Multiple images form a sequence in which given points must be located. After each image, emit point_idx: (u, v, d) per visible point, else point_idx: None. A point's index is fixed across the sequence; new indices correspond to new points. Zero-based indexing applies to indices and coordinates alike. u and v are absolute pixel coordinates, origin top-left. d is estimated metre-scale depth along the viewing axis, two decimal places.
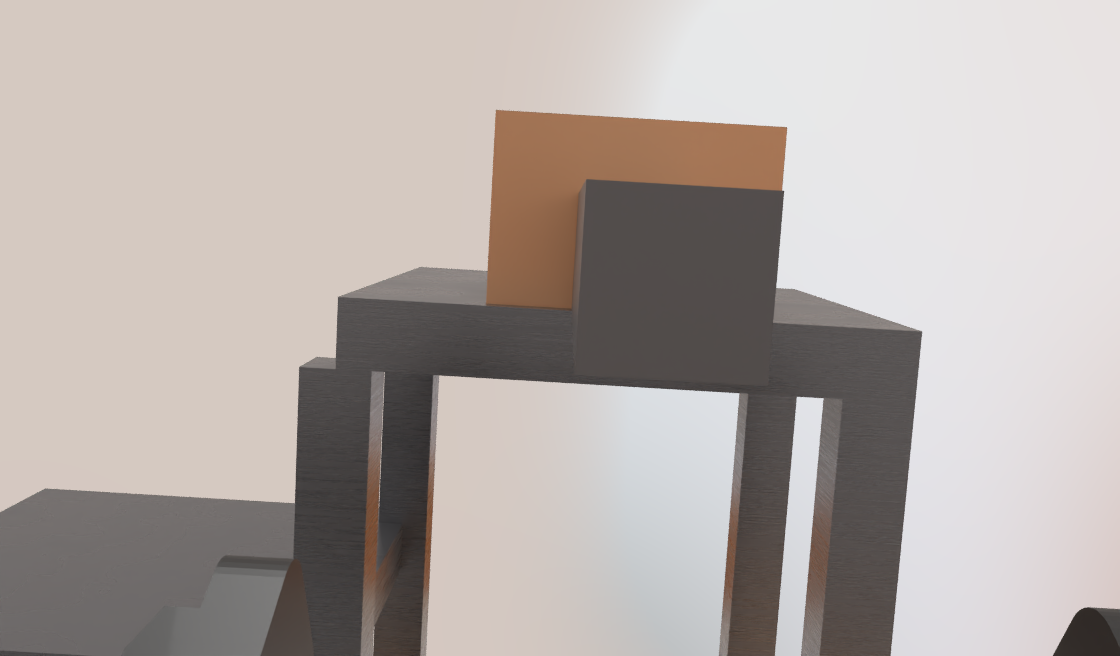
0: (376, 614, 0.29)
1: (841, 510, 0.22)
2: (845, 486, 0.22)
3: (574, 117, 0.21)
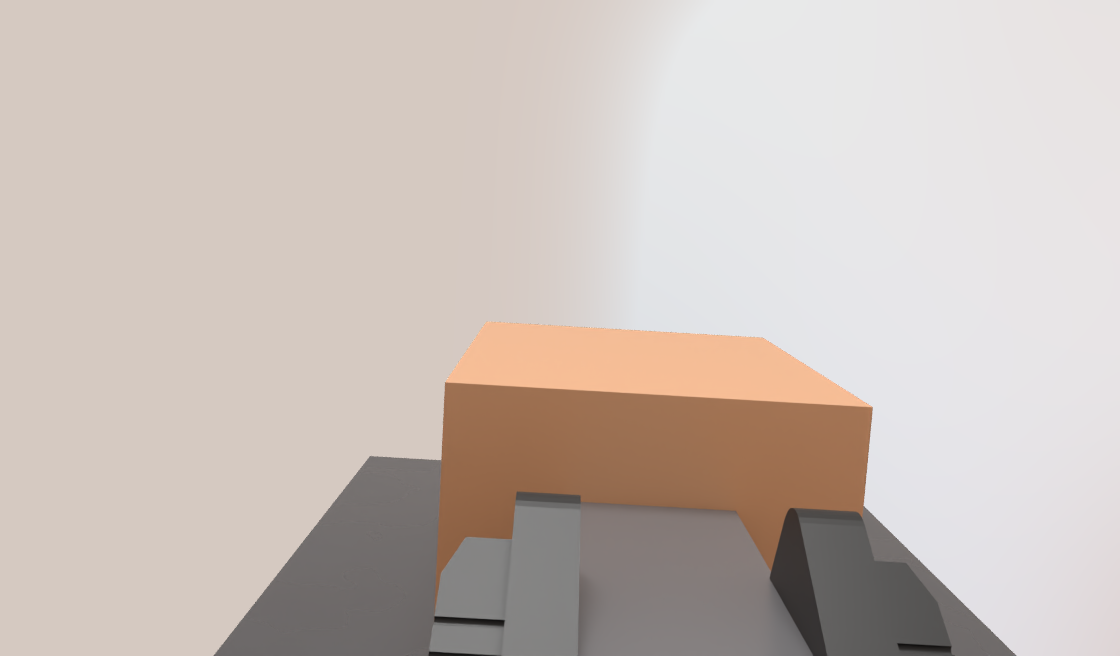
0: None
1: None
2: None
3: (560, 392, 0.15)
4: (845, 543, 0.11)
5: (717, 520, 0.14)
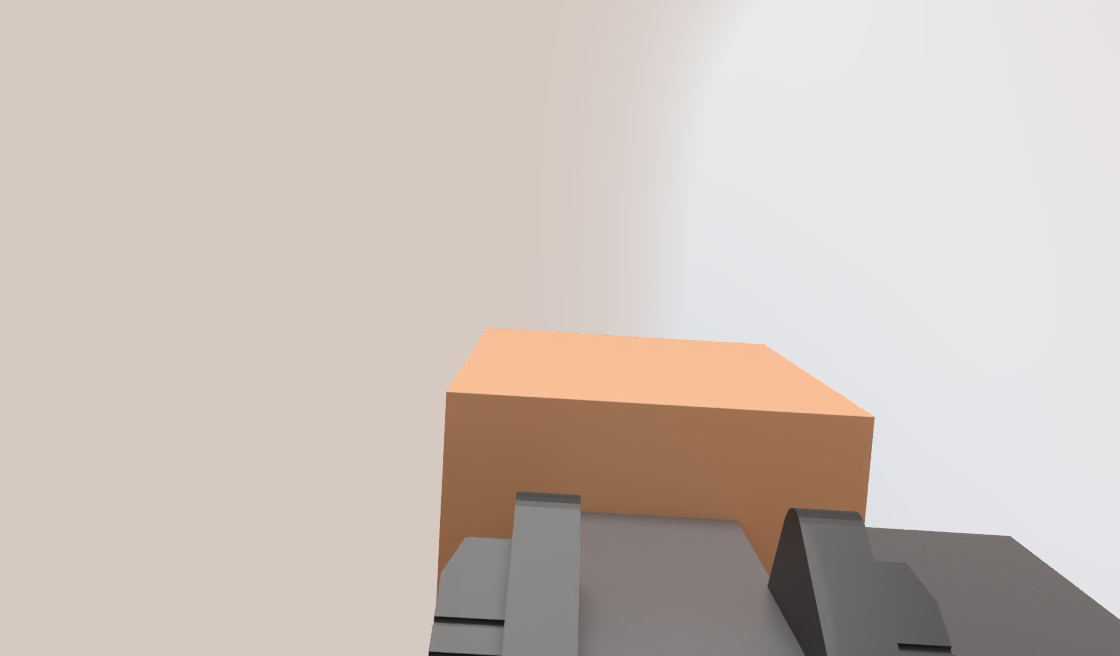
0: None
1: None
2: None
3: (562, 401, 0.15)
4: (845, 543, 0.11)
5: (718, 530, 0.14)
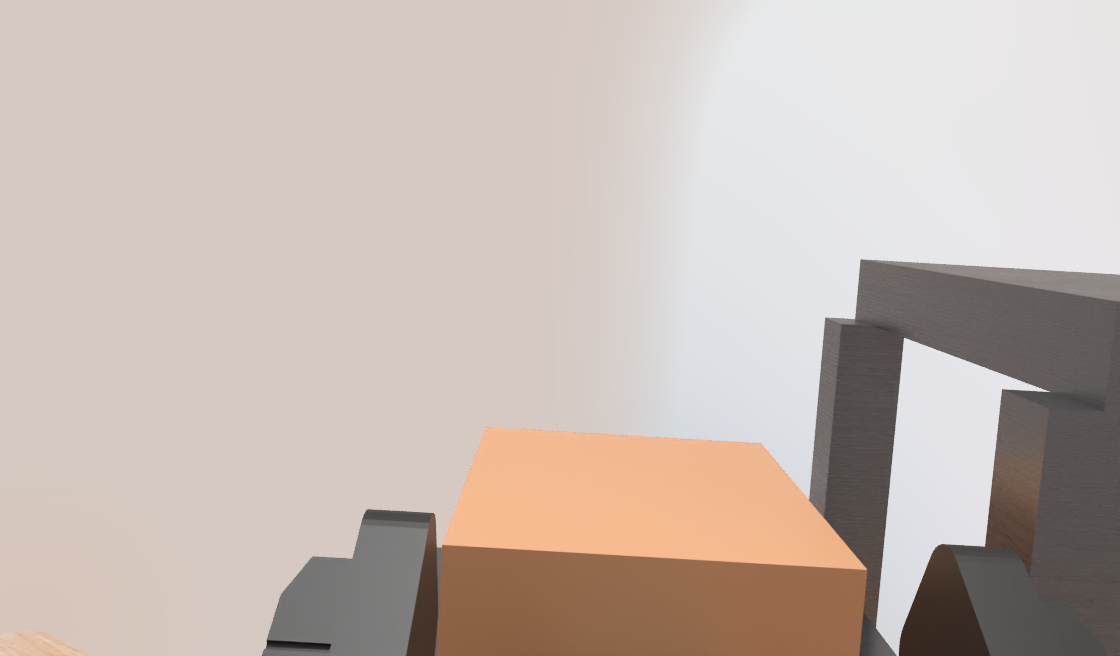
0: None
1: None
2: None
3: (557, 554, 0.15)
4: (1007, 583, 0.10)
5: None
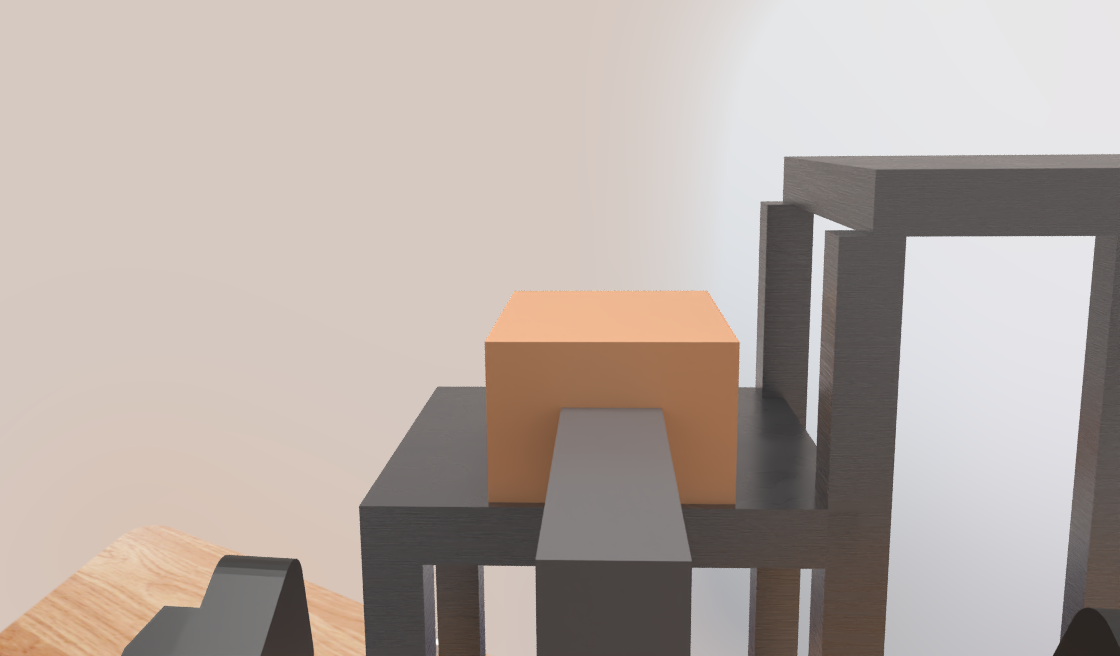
0: None
1: None
2: None
3: (553, 343, 0.25)
4: None
5: (648, 413, 0.24)
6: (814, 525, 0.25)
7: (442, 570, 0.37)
